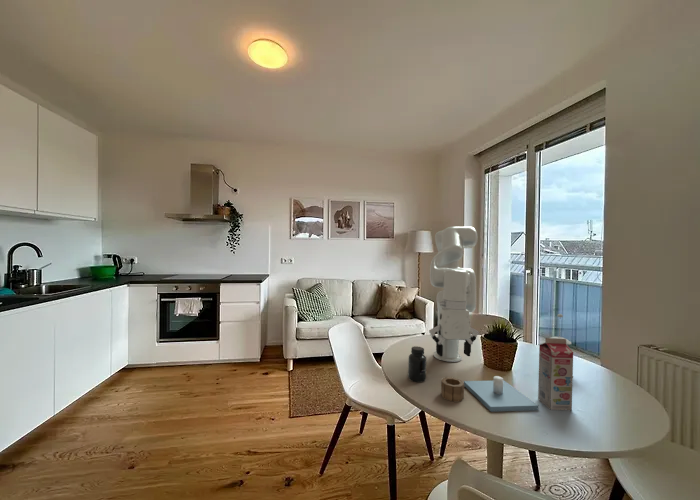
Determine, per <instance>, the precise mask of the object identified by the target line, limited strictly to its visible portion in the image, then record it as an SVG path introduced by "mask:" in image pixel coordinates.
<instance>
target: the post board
mask: <svg viewBox="0 0 700 500" xmlns="http://www.w3.org/2000/svg"><path fill="white" fill-rule="evenodd" d="M463 383H464V388H466V389H467V390H468V391H469V392H470V394H472V395H473V396H474V397H475V398H476V399H477V400H478V401H479V402H480V403H481V404H482V405H483V406H484V407H486V409H488V410H489V412H513V411H514V412H520V411H522V412H523V411H539V404H537V403H536V402H534V401H533V400H532V399H530V398H529V397H528V396H526V395H525V394H524V393H522V392H521V391H519V390H518V389H516V387H514V386H512V384H510V383H509V382H507V381H505V380H504V377H501V376H499V375H495V376H493V380H463Z"/></svg>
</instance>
